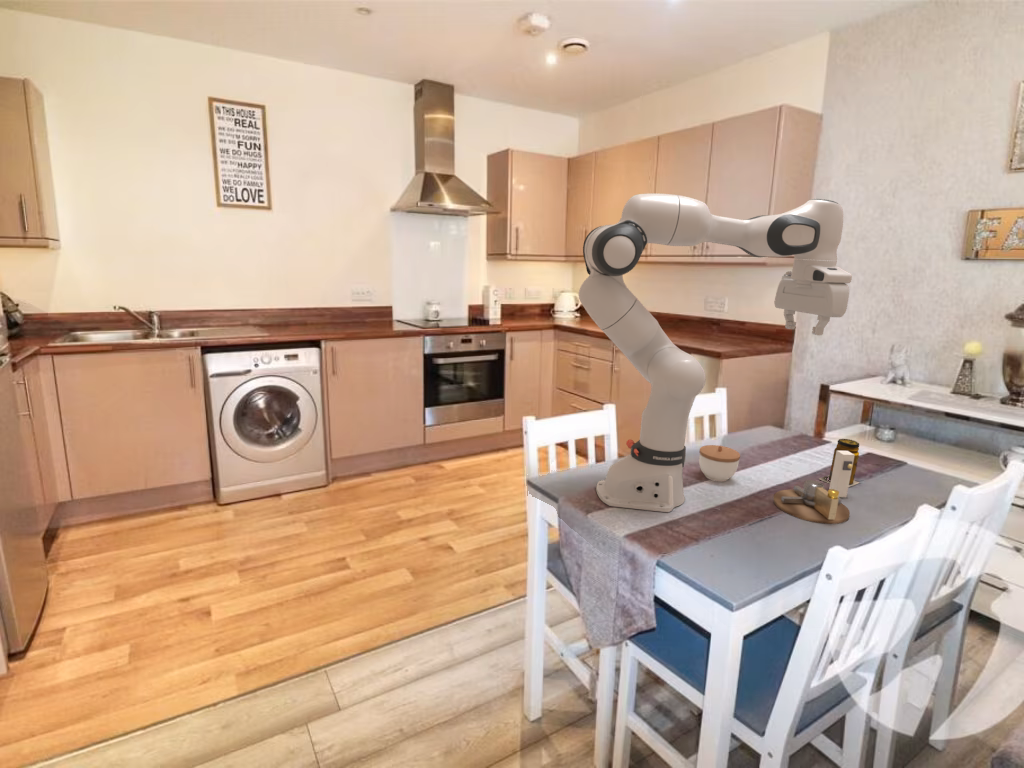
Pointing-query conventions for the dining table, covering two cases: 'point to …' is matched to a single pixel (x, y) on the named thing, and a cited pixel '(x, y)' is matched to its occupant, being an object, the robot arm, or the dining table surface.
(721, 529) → the dining table surface
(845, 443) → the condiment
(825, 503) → the capstan
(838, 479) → the post
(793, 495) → the foot plate
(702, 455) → the lidded jar
